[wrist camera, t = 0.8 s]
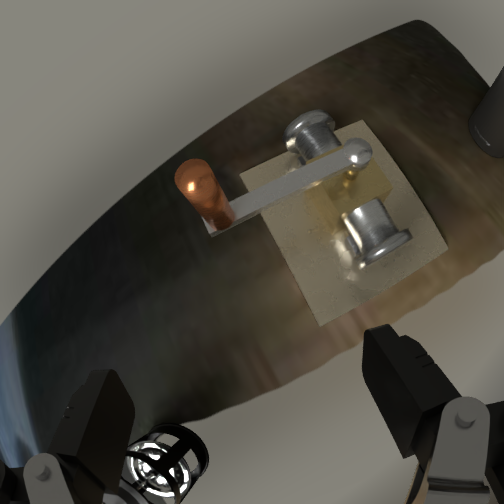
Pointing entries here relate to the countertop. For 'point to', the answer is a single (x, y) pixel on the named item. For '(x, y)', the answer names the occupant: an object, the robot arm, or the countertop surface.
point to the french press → (161, 466)
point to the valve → (345, 220)
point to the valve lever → (232, 213)
